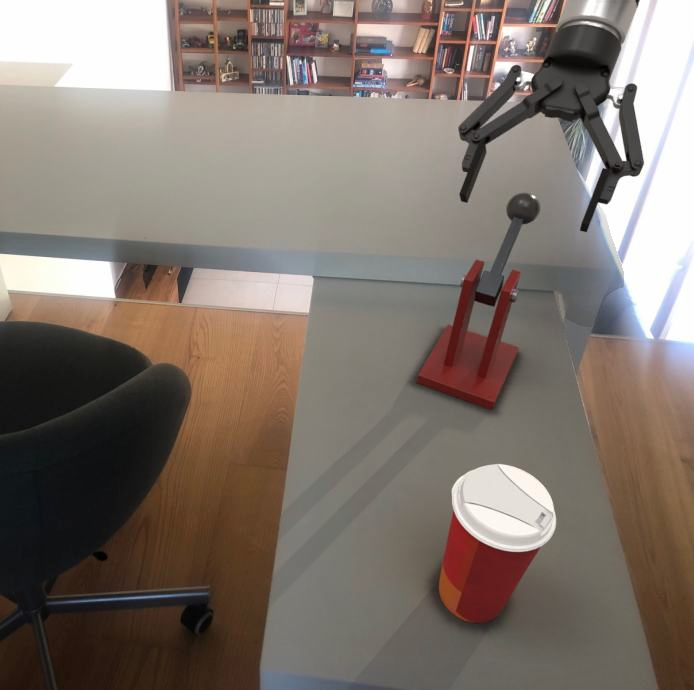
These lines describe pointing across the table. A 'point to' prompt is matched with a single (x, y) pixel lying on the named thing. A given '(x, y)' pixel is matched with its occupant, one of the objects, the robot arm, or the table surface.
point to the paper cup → (492, 539)
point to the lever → (507, 246)
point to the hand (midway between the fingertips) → (521, 213)
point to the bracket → (473, 348)
